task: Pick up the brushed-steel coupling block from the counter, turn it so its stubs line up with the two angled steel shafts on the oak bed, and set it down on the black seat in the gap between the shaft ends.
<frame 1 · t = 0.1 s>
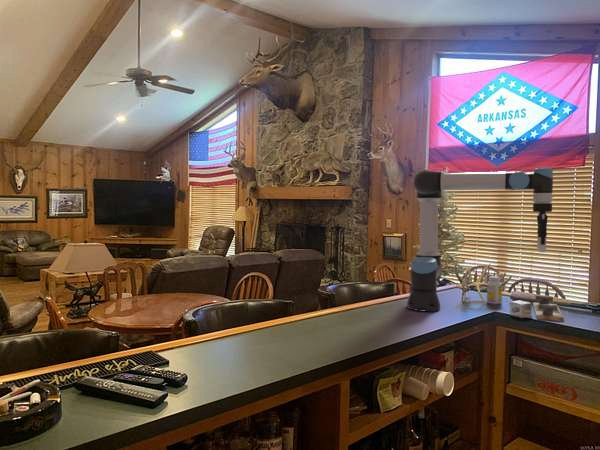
hand: (541, 250, 201), 28 cm above the bar counter, tool pointing down, fingers open, 13 cm apart
coupler: (520, 315, 197), on the bar counter
shaft bed: (547, 312, 202), on the bar counter
supplement bottle: (494, 303, 222), on the bar counter
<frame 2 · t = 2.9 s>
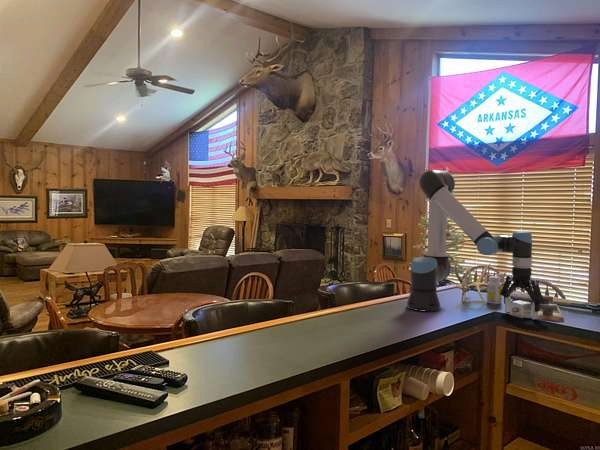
hand: (520, 315, 197), 0 cm above the bar counter, tool pointing down, fingers open, 13 cm apart
nothing on the bar counter moved.
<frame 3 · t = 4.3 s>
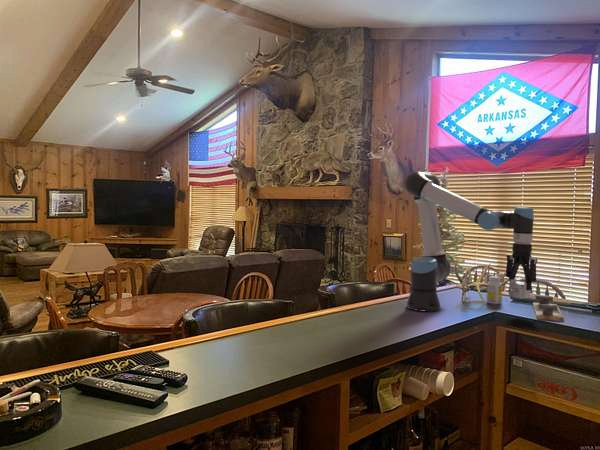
hand: (519, 295, 197), 9 cm above the bar counter, tool pointing down, fingers closed on coupler, 6 cm apart
coupler: (519, 296, 197), point 8 cm above the bar counter, touching gripper
everything else where it was.
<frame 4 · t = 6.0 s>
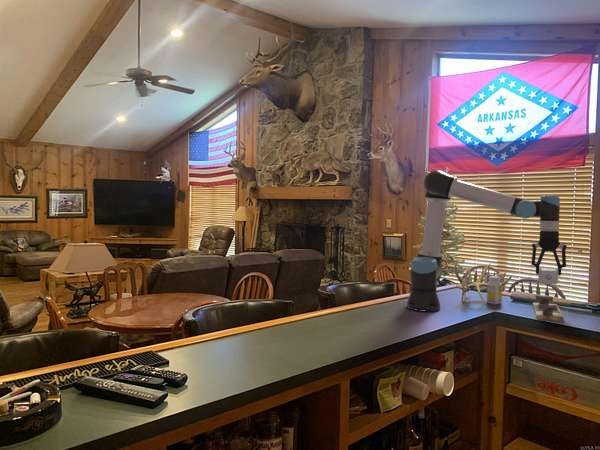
hand: (548, 282, 201), 14 cm above the bar counter, tool pointing down, fingers closed on coupler, 6 cm apart
coupler: (548, 282, 201), point 13 cm above the bar counter, touching gripper
everything else where it was.
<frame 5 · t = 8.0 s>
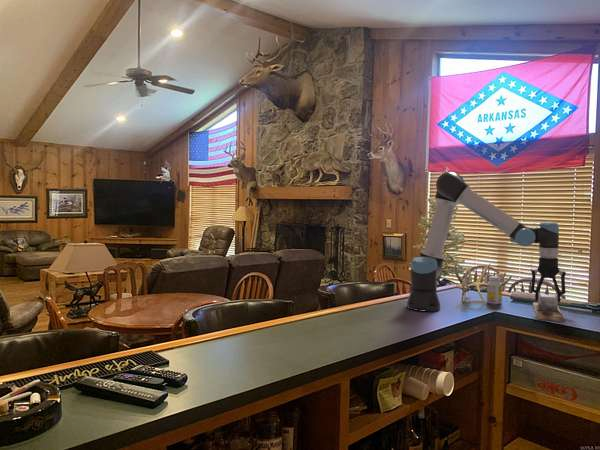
hand: (547, 308, 201), 2 cm above the bar counter, tool pointing down, fingers closed on coupler, 6 cm apart
coupler: (547, 309, 201), point 2 cm above the bar counter, touching gripper, shaft bed
everything else where it was.
when the fingers open (2 cm above the bar counter, at t = 8.8 s): coupler stays where it is, resting on shaft bed.
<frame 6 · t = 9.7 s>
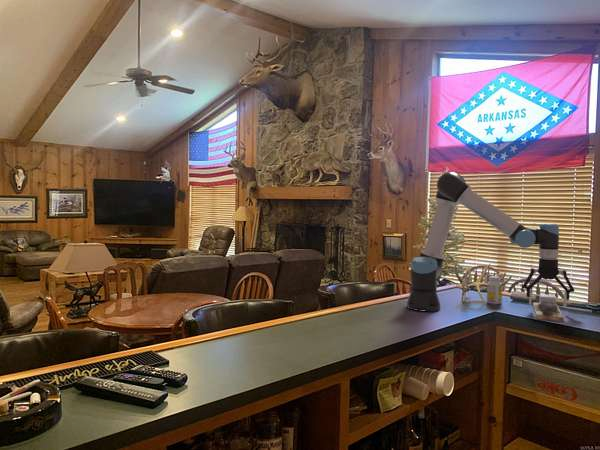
hand: (547, 305, 201), 3 cm above the bar counter, tool pointing down, fingers open, 13 cm apart
coupler: (547, 309, 201), point 2 cm above the bar counter, touching shaft bed
everything else where it was.
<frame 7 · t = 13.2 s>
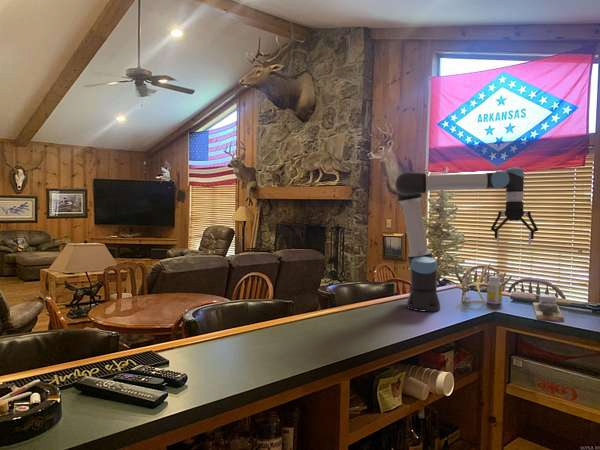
hand: (513, 245, 214), 29 cm above the bar counter, tool pointing down, fingers open, 13 cm apart
nothing on the bar counter moved.
at the end: coupler 0.1 cm off-centre on the shaft bed, point 1.7 cm above the shaft bed's base; coupler tilted 0°; the gripper is holding nothing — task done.
